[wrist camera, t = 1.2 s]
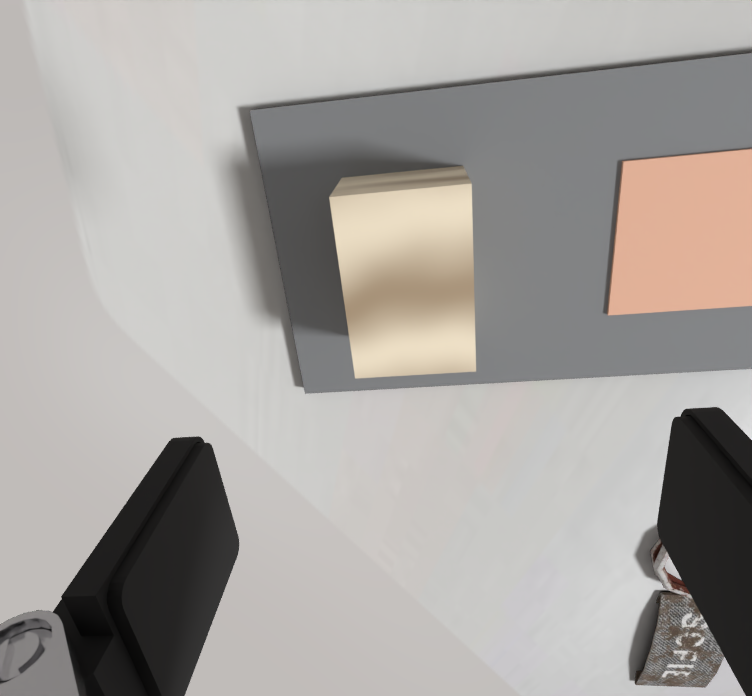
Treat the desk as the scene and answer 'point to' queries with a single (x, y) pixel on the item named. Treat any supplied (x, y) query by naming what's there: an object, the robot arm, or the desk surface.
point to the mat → (543, 217)
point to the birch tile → (407, 271)
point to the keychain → (678, 636)
